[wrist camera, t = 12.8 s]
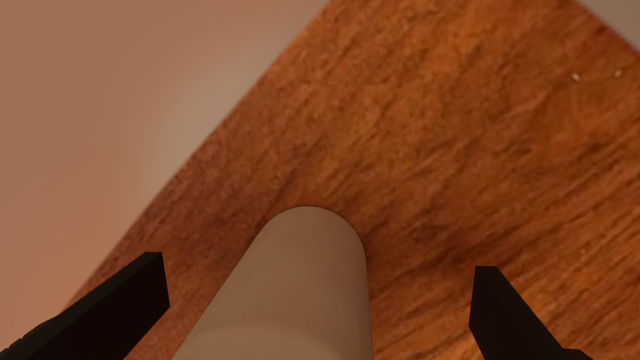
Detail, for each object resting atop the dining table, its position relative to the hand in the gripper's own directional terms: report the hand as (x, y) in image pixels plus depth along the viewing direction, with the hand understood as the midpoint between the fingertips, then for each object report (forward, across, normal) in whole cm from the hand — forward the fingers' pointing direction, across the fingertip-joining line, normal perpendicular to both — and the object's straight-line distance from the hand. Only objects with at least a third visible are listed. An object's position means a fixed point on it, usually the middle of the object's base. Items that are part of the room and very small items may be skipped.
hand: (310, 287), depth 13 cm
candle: (+3, 0, 0) cm, 3 cm away
